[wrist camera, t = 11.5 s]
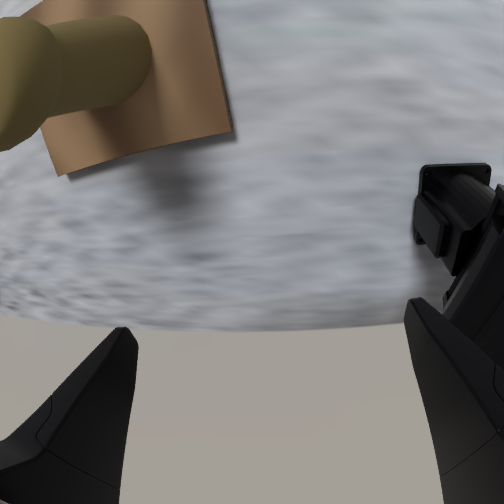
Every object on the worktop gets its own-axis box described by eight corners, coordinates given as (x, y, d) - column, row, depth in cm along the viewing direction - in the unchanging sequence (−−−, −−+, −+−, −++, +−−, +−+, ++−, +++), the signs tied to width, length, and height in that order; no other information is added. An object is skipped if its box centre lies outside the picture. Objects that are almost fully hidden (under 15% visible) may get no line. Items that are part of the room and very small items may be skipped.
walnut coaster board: (193, -59, 11) (189, -63, 10) (232, 127, 18) (231, 131, 17) (22, 20, 12) (14, 20, 12) (64, 171, 20) (57, 176, 19)
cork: (172, 56, 15) (62, 70, 6) (106, 125, 17) (-12, 209, 8) (110, -3, 12) (-26, -21, 3) (51, 68, 14) (-83, 116, 5)
